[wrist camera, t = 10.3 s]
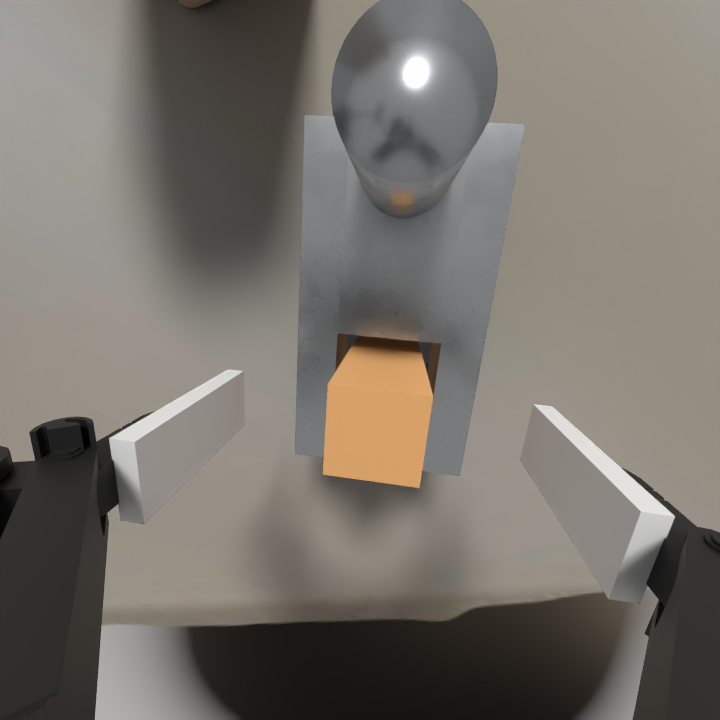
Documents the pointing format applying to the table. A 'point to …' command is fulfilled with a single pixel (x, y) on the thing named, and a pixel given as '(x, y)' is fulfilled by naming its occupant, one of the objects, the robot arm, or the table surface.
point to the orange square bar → (378, 413)
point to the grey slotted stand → (405, 211)
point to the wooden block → (193, 3)
